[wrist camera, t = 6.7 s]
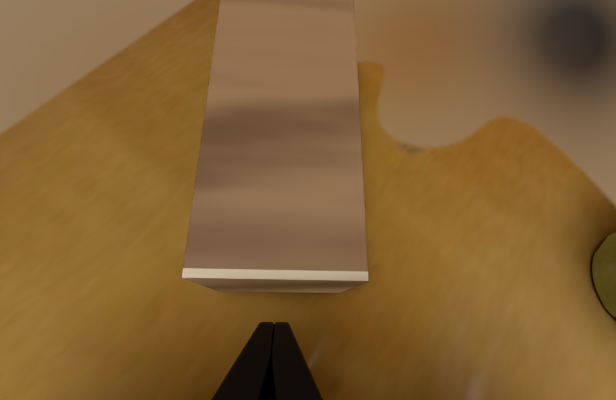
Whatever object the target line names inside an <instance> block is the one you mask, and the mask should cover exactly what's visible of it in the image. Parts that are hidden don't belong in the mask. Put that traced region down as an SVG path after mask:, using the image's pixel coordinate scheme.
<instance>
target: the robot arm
mask: <svg viewBox="0 0 616 400" xmlns="http://www.w3.org/2000/svg"><path fill="white" fill-rule="evenodd" d="M211 400H323V399H322V397H321V395H320V392H319V390H318V388H317V386H316V383H315V381H314V379H313V377H312V374H311V372H310V370H309V368H308V365H307V363H306V361H305V359H304V356H303V354H302V352H301V350H300V347H299V345H298V343H297V341H296V339H295V336H294V334H293V332H292V330H291V327H290V325H289V324H288V323H287V322H276V323H275V324H274V323H273V322H261V323H259V325H258V326H257V328H256V329H255V331H254V333H253V334H252V336H251V337H250V339H249V341H248V342H247V344H246V345H245V347H244V348H243V350H242V352H241V353H240V355H239V356H238V358H237V360H236V361H235V363H234V364H233V366H232V367H231V369H230V371H229V372H228V374H227V375H226V377H225V379H224V380H223V382H222V383H221V385H220V386H219V388H218V390H217V391H216V393H215V394H214V396H213V398H212V399H211Z"/></svg>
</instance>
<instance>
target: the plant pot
mask: <svg viewBox="0 0 616 400" xmlns="http://www.w3.org/2000/svg"><path fill="white" fill-rule="evenodd" d="M592 275H593V281H594V284H595V287H596V291H597V293H598V295H599V297H600V299H601V301H602V303H603V305H604V306H605V308H606V309H607V311H608V312H609V313H610V314H611V315H612V316H614V317H615V318H616V232H614V233H612V234H610V235H608V236H607V237H606V239H605V241H604V242H603V244H602V245H601V246H600V248H599V249H598V250H597V251H596V253H595V254H594V257H593V262H592Z"/></svg>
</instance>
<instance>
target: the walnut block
mask: <svg viewBox="0 0 616 400" xmlns="http://www.w3.org/2000/svg"><path fill="white" fill-rule="evenodd" d="M182 278H184V279H187V280H190V281H192V282H195V283H198V284H200V285H203V286H206V287H209V288H211V289H214V290H217V291H234V292H300V293H341V292H344V291H346V290H348V289H351V288H353V287H355V286H358V285H360V284H362V283H365V282H367V281H368V263H367V244H366V224H365V205H364V186H363V166H362V147H361V128H360V108H359V89H358V70H357V50H356V32H355V11H354V0H220V8H219V15H218V22H217V29H216V36H215V43H214V51H213V58H212V65H211V72H210V79H209V86H208V94H207V101H206V108H205V115H204V122H203V130H202V137H201V144H200V151H199V158H198V165H197V173H196V180H195V187H194V194H193V201H192V208H191V216H190V223H189V230H188V237H187V244H186V251H185V259H184V266H183V273H182Z"/></svg>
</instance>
